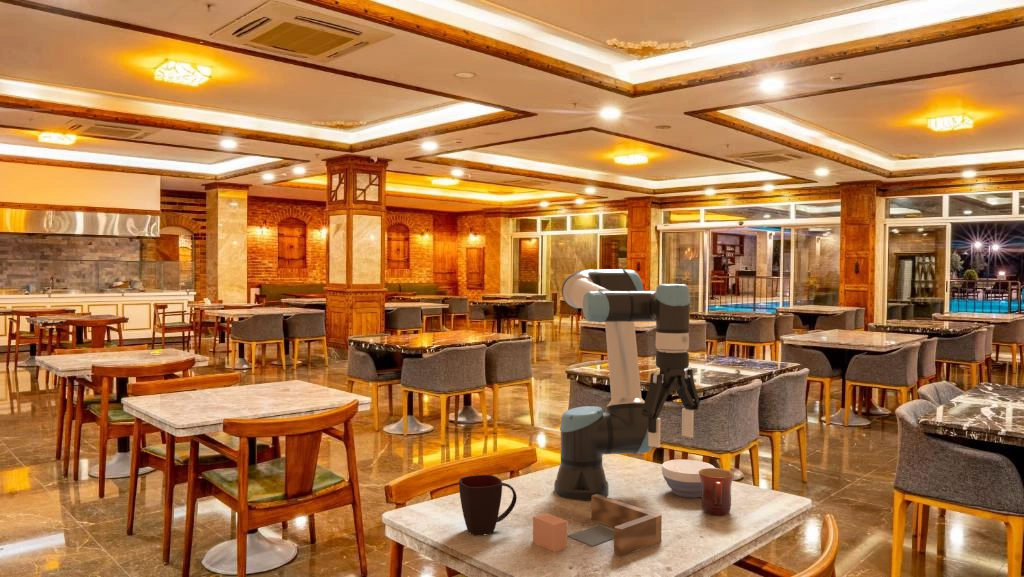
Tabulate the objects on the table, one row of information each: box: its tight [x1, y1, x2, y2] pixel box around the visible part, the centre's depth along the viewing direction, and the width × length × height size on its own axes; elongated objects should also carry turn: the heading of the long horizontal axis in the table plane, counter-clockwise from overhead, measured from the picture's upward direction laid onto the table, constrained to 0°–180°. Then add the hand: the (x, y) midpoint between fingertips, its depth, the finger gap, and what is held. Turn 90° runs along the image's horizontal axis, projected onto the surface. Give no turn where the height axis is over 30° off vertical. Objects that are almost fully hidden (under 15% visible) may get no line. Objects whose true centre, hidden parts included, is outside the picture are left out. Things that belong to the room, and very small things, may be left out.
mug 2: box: [699, 467, 735, 517], centre depth 180 cm, size 12×9×10 cm
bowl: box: [661, 459, 716, 499], centre depth 198 cm, size 14×14×8 cm
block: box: [532, 512, 568, 552], centre depth 160 cm, size 7×4×6 cm, turn 40°
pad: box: [567, 524, 614, 547], centre depth 166 cm, size 8×11×1 cm
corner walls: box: [590, 494, 663, 558], centre depth 166 cm, size 20×14×6 cm
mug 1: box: [458, 474, 517, 536], centre depth 169 cm, size 10×14×12 cm
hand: (671, 441), depth 165 cm, fingers open, 13 cm apart
